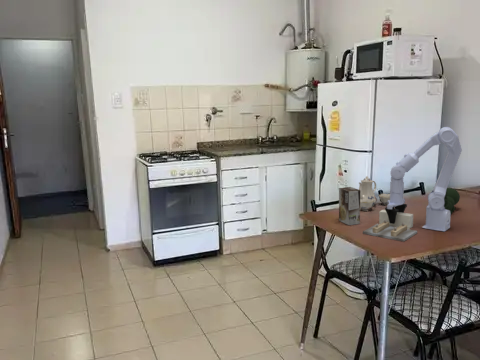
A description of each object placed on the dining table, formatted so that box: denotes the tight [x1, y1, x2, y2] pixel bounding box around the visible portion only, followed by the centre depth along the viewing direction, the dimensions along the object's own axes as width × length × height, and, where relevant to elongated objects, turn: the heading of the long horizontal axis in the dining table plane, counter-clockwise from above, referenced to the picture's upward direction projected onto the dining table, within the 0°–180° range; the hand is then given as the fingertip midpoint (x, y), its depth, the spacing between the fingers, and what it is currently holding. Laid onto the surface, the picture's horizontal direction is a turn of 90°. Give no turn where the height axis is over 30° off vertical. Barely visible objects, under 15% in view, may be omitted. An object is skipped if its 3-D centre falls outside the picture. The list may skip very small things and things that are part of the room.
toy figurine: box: [444, 187, 461, 215], centre depth 215 cm, size 9×19×25 cm
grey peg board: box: [362, 219, 418, 243], centre depth 185 cm, size 18×14×4 cm
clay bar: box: [378, 209, 414, 230], centre depth 197 cm, size 14×4×6 cm, turn 47°
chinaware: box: [358, 175, 390, 212], centre depth 231 cm, size 28×17×17 cm, turn 129°
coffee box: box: [338, 186, 361, 226], centre depth 203 cm, size 9×6×16 cm
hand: (395, 221), depth 197 cm, fingers open, 7 cm apart
